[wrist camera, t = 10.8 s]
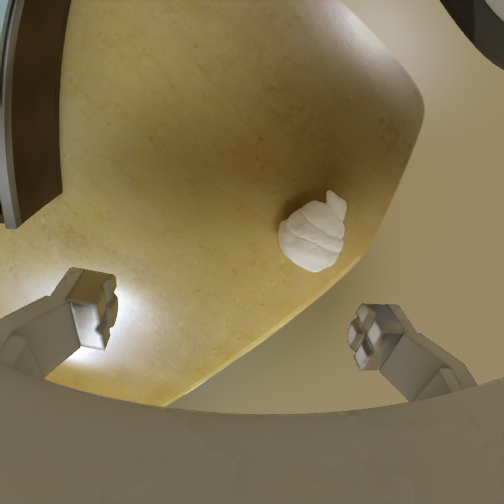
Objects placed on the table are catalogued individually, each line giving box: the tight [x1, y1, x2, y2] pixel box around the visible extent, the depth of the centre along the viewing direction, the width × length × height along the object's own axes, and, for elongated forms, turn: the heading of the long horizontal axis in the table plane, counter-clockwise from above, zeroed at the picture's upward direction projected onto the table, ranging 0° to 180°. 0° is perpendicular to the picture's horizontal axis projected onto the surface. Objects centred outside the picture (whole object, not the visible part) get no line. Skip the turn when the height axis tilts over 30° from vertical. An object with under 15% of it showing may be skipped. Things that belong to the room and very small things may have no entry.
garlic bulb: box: [278, 190, 347, 272], centre depth 24 cm, size 6×6×5 cm
